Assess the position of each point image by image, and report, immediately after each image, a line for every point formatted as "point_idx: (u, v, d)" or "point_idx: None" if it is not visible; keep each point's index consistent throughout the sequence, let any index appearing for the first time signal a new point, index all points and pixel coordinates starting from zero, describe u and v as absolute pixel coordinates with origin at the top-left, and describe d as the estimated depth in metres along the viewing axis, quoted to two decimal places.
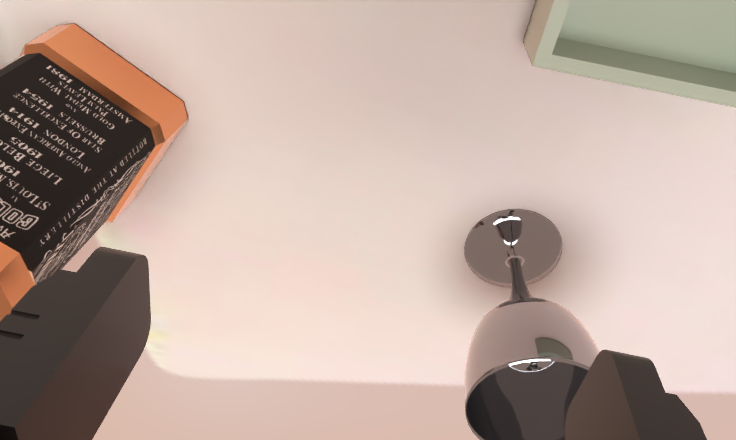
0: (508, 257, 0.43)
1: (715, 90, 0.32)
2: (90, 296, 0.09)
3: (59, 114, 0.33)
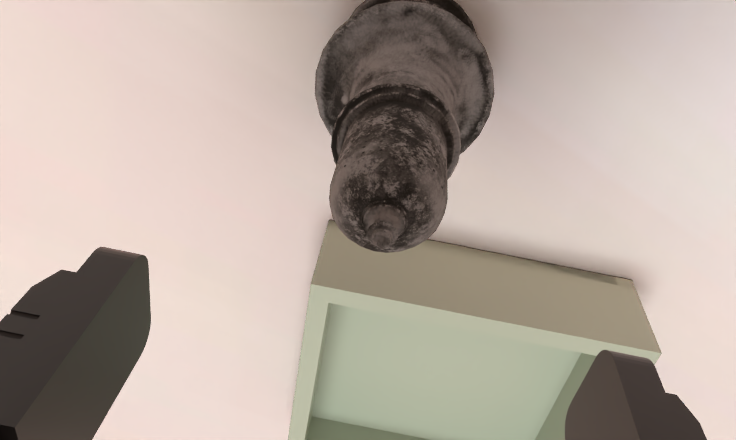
0: None
1: None
2: (90, 296, 0.09)
3: None
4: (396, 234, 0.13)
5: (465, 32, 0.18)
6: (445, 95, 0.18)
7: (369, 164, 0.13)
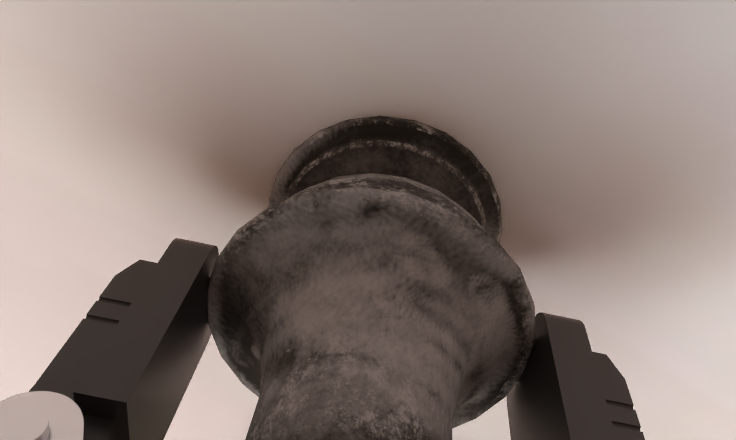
0: None
1: None
2: (175, 283, 0.09)
3: None
4: None
5: (483, 246, 0.09)
6: (443, 390, 0.09)
7: None
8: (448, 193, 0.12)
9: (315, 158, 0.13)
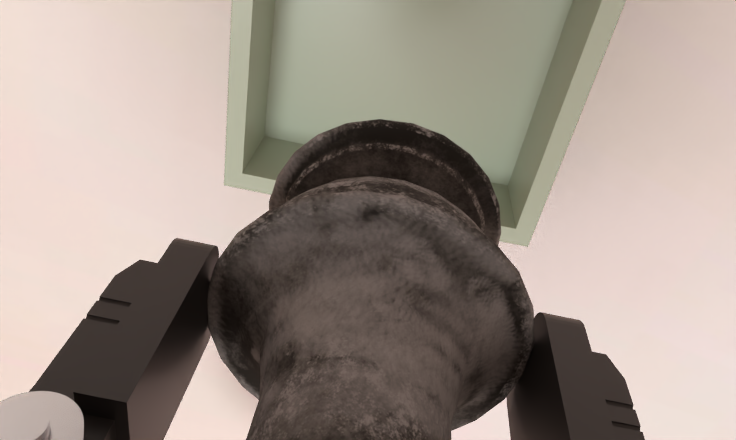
0: None
1: None
2: (175, 283, 0.09)
3: None
4: None
5: (482, 250, 0.09)
6: (442, 393, 0.09)
7: None
8: (447, 195, 0.12)
9: (315, 160, 0.13)
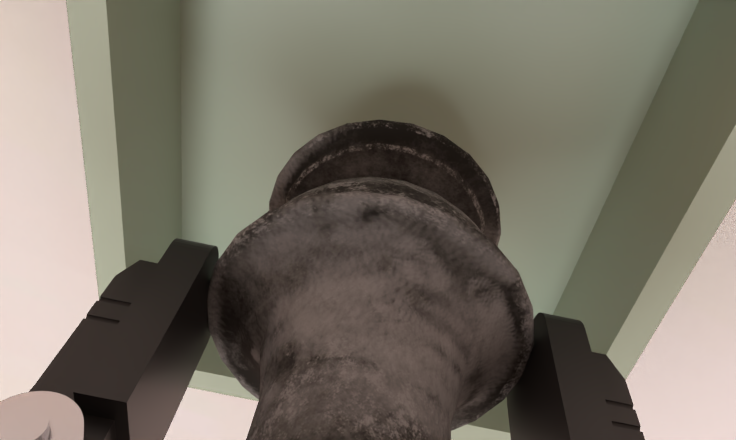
0: None
1: None
2: (175, 284, 0.09)
3: None
4: None
5: (482, 250, 0.09)
6: (442, 393, 0.09)
7: None
8: (447, 196, 0.12)
9: (315, 161, 0.13)
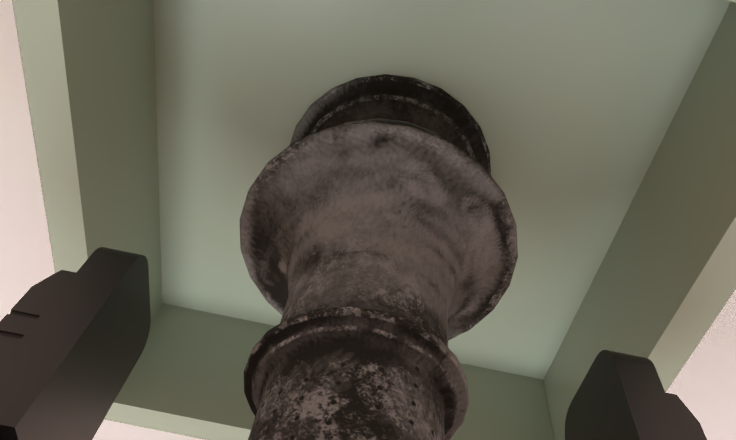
0: None
1: None
2: (90, 296, 0.09)
3: None
4: None
5: (473, 172, 0.11)
6: (441, 285, 0.11)
7: None
8: None
9: (329, 111, 0.14)
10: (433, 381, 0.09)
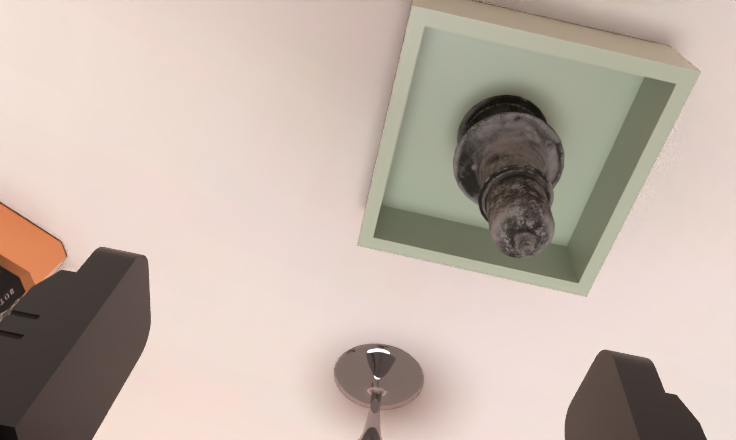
0: (371, 387, 0.46)
1: (522, 272, 0.35)
2: (90, 296, 0.09)
3: None
4: (533, 247, 0.25)
5: (550, 131, 0.31)
6: (540, 169, 0.30)
7: (518, 211, 0.25)
8: None
9: (482, 109, 0.34)
10: (544, 189, 0.28)
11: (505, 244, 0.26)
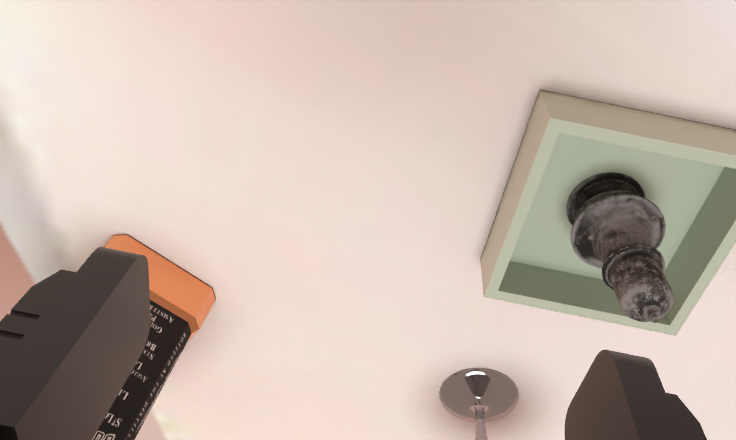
0: (474, 405, 0.53)
1: (622, 317, 0.42)
2: (90, 296, 0.09)
3: None
4: (659, 317, 0.32)
5: (655, 208, 0.38)
6: (649, 241, 0.37)
7: (647, 288, 0.32)
8: None
9: (590, 184, 0.41)
10: (658, 263, 0.35)
11: (634, 312, 0.33)
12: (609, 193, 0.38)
